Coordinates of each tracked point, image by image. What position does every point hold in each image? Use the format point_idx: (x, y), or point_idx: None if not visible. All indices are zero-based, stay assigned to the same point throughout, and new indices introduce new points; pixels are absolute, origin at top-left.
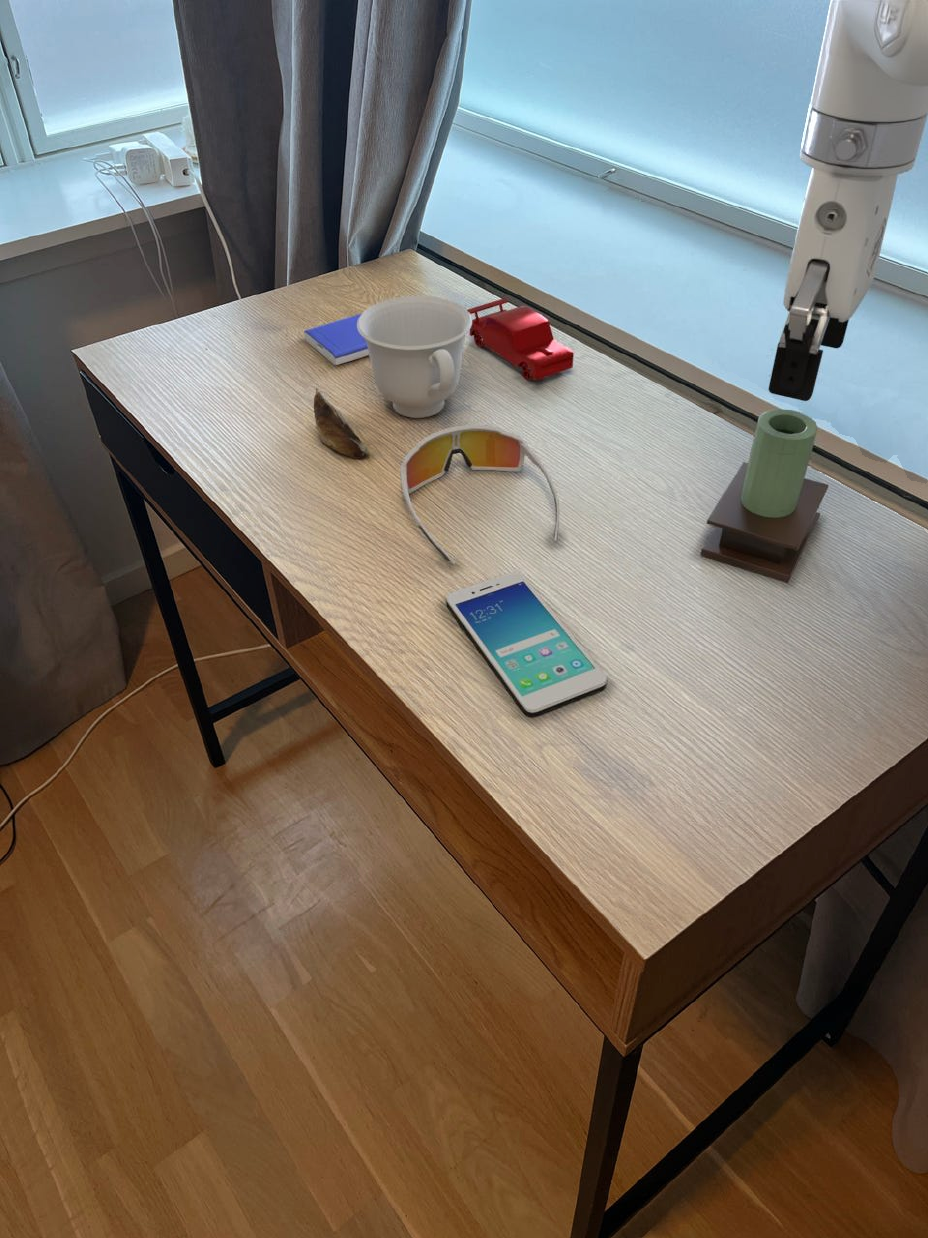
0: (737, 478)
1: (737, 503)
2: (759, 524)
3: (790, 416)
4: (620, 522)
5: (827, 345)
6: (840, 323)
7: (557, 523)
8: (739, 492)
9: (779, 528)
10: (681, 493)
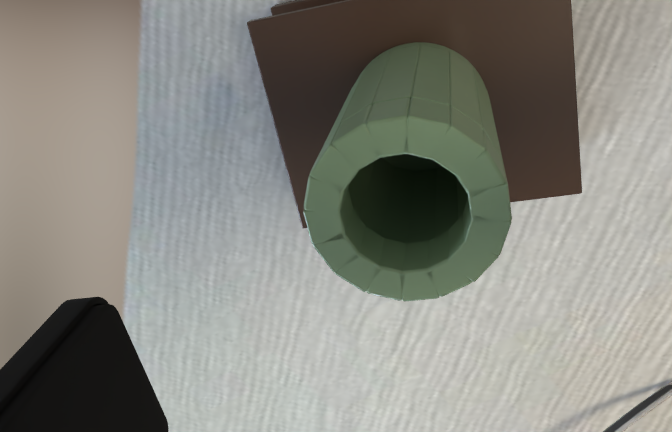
0: None
1: None
2: (526, 86)
3: (344, 226)
4: (546, 318)
5: (130, 344)
6: (48, 408)
7: (655, 405)
8: None
9: (512, 36)
10: None
